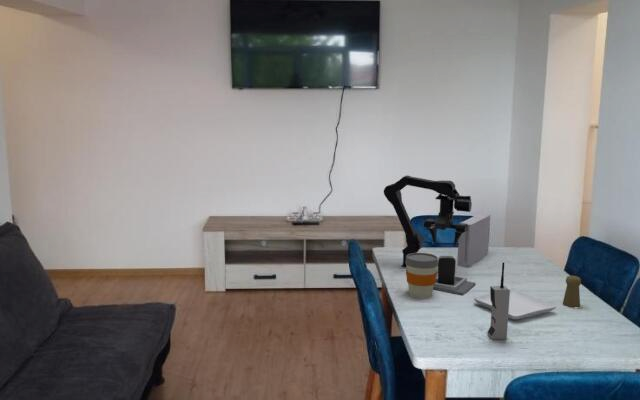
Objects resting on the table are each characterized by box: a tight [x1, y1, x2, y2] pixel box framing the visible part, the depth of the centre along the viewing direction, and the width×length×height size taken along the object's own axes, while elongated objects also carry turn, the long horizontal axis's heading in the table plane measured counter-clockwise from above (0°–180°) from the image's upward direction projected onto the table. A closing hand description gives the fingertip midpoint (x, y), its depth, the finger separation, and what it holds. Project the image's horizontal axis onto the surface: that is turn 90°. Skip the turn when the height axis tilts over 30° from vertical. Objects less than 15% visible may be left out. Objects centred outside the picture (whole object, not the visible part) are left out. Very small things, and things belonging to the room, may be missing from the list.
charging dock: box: [433, 275, 476, 296], centre depth 231 cm, size 18×15×2 cm
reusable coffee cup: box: [405, 252, 439, 299], centre depth 221 cm, size 13×13×15 cm
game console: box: [456, 213, 491, 268], centre depth 268 cm, size 6×27×20 cm, turn 145°
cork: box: [562, 275, 582, 309], centre depth 210 cm, size 6×6×11 cm
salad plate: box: [472, 288, 557, 320], centre depth 207 cm, size 21×21×3 cm
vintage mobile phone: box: [486, 262, 510, 341], centre depth 180 cm, size 4×5×25 cm
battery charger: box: [437, 255, 457, 284], centre depth 231 cm, size 7×4×11 cm, turn 83°
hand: (444, 244), depth 250 cm, fingers open, 9 cm apart
